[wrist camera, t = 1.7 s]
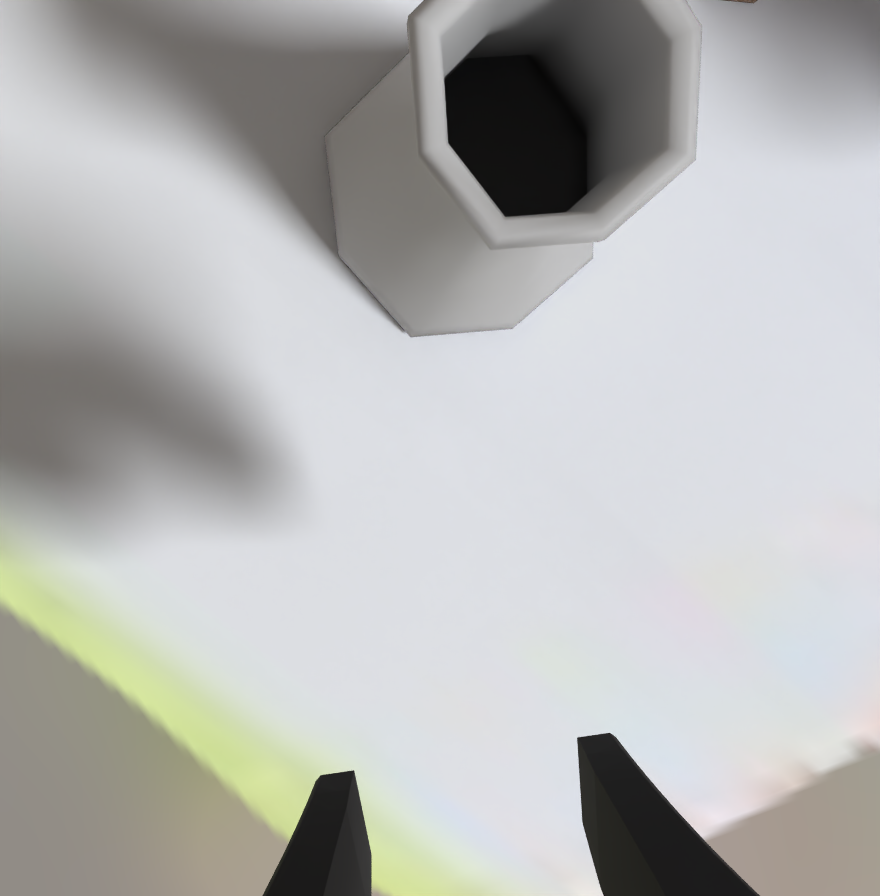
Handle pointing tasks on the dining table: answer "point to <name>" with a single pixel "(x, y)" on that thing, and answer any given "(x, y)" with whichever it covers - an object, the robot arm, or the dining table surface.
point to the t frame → (748, 0)
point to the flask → (509, 151)
